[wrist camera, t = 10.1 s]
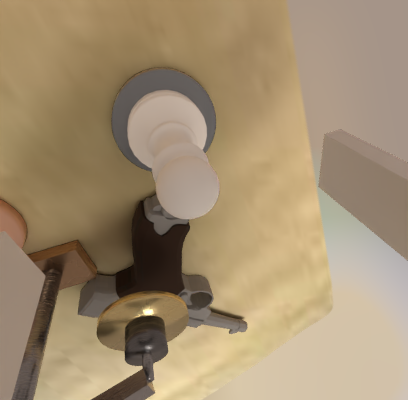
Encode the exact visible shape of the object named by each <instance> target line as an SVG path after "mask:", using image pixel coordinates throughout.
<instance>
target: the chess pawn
mask: <svg viewBox="0 0 408 400" xmlns="http://www.w3.org/2000/svg"><path fill="white" fill-rule="evenodd" d="M127 132H128V135H127V136H128V141H129V146H130V148H131V150H132V152H133V153H134V155H135V156H136V157H137V158H138V159H139V161H140V162H141V163H143V164H145V165H146V166H148V167H149V168H152V175H153V179H154V181H155V183H156V194H157V198H158V200H159V202H160V204H161V206H162V207H163V208H164V209H165V210H166V211H167V212H168V213H169V214H171V215H173V216H174V217H177V218H180V219H195V218H198V217H201V216H203V215H205V214H206V213H208V212H209V211H210V210H211V209H212V208H213V206H214V205H215V203H216V201H217V199H218V195H219V180H218V177H217V174H216V172H215V171H214V169H213V168H212V166H211V165H210V164H209V161H208V158H207V156H206V154H205V153H204V151H203V148H204V146H205V142H206V138H207V126H206V123H205V119H204V117H203V115H202V113H201V112H200V110H199V109H198V108H197V106H196V105H195V104H194V103H193V102H192V101H191V100H190V99H189V98H188V97H187V96H185V95H183V94H181V93H179V92H176V91H171V90H157V91H154V92H151V93H149V94H146V95H145V96H144V97H142V98H141V99H140V100H138V101H137V103H136V104H135V105H134V107H133V108H132V110H131V112H130V115H129V118H128V126H127Z"/></svg>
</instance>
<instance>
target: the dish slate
mask: <svg viewBox="0 0 408 400" xmlns="http://www.w3.org/2000/svg"><path fill="white" fill-rule="evenodd" d="M157 90H171V91H176V92H179V93H181V94H183V95H185V96H187V97H188V98H189V99H190V100H191V101H192V102H193V103H194V104H195V105H196V106H197V108H198V109H199V110H200V112H201V113H202V115H203V117H204V119H205V123H206V126H207V138H206V142H205V146H204V148H203V151H204V153H206V151H207V150H208V148H209V147H210V145H211V143H212V140H213V137H214V134H215V129H216V115H215V110H214V106H213V104H212V101H211V99H210V97H209V95H208V94H207V93H206V91H205V90H204V89H203V88H202V87H201V85H200V84H198V83H197V82H196V81H195V80H194V79H193V78H191V77H190V76H189V75H187V74H185V73H183V72H181V71H179V70H176V69H172V68H165V67H157V68H151V69H147V70H144V71H141V72H139V73H137V74H136V75H134V76H133V77H131V78H130V79H129V80H128V81H127V82H126V83H125V84H124V85H123V86H122V88H121V89H120V90H119V92H118V94H117V96H116V99H115V101H114V105H113V111H112V131H113V136H114V139H115V141H116V143H117V145H118V147H119V149H120V150H121V152H122V153H123V154H124V156H125V157H126V158H127V159H128V160H130V161H131V162H132V163H133V164H135V165H136V166H138V167H140V168H142V169H145V170H147V171H151V172H152V168H149V167H148V166H146V165H145V164H143V163H141V162H140V161H139V159H138V158H137V157H136V156H135V155H134V153H133V152H132V150H131V148H130V146H129V141H128V136H127V135H128V132H127V126H128V118H129V115H130V112H131V110H132V108H133V107H134V105H135V104H136V103H137V101H138V100H140V99H141V98H142V97H144V96H145V95H146V94H149V93H151V92H154V91H157Z"/></svg>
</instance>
